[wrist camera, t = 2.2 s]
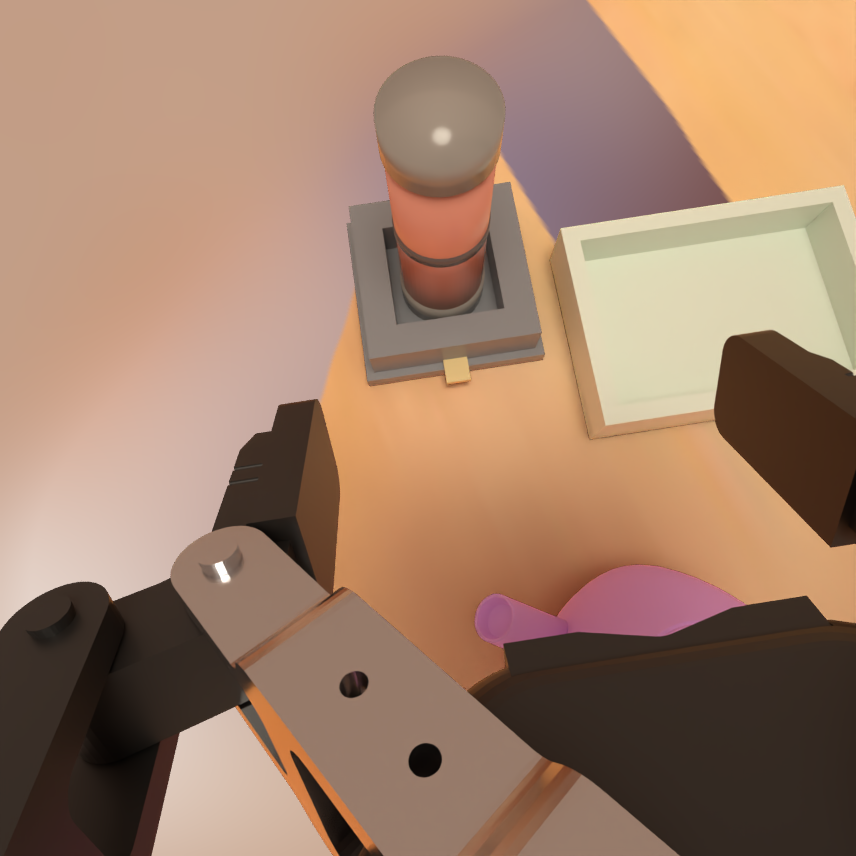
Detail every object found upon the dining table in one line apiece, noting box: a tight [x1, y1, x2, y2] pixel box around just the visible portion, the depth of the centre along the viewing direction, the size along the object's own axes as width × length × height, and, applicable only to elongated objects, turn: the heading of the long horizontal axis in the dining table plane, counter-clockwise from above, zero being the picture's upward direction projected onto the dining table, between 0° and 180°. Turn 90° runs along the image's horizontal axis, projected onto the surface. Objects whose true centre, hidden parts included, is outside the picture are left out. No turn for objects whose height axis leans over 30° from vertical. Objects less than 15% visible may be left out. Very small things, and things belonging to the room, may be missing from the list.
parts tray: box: [550, 185, 856, 440], centre depth 29 cm, size 14×10×3 cm
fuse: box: [373, 56, 505, 320], centre depth 24 cm, size 4×4×12 cm
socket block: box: [347, 182, 545, 386], centre depth 30 cm, size 9×11×3 cm
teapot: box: [475, 565, 746, 649], centre depth 22 cm, size 10×15×9 cm
